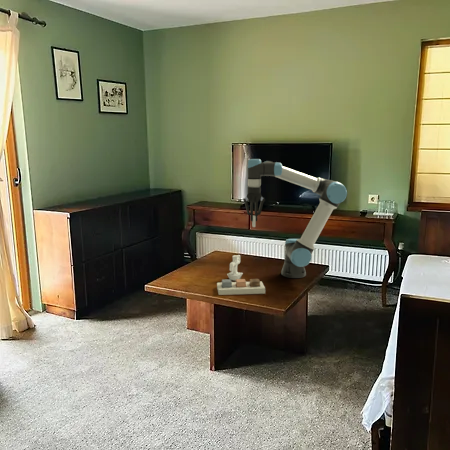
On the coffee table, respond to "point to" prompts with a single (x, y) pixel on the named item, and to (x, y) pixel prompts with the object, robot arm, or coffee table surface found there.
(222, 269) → the coffee table surface
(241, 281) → the terracotta key
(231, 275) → the figurine
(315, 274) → the coffee table surface
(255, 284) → the walnut key
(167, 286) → the coffee table surface
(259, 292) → the key block
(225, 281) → the slate key
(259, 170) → the robot arm
